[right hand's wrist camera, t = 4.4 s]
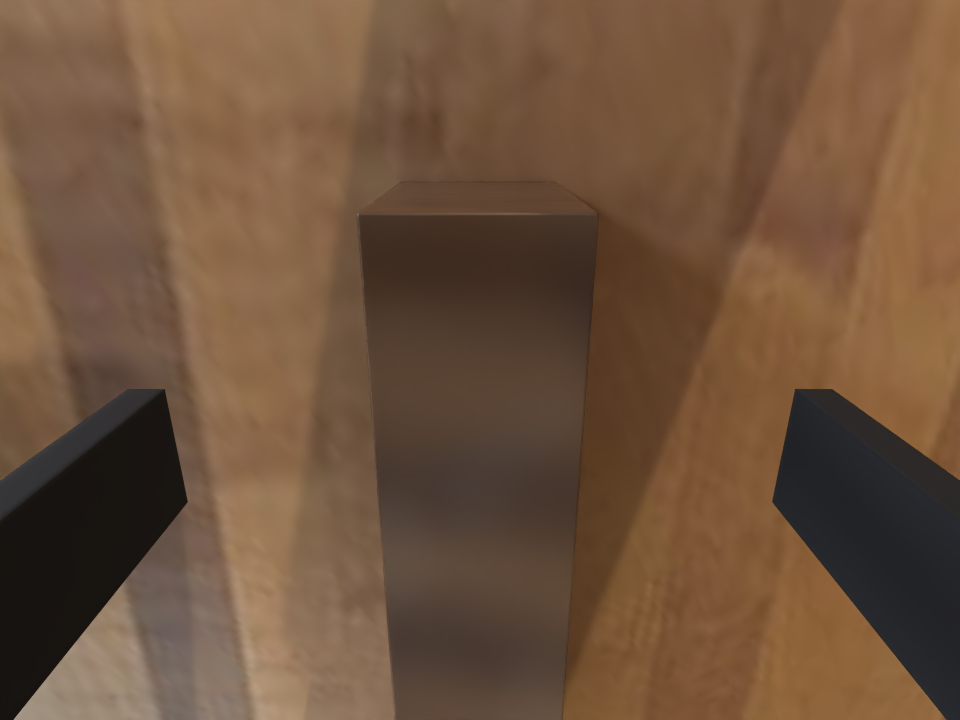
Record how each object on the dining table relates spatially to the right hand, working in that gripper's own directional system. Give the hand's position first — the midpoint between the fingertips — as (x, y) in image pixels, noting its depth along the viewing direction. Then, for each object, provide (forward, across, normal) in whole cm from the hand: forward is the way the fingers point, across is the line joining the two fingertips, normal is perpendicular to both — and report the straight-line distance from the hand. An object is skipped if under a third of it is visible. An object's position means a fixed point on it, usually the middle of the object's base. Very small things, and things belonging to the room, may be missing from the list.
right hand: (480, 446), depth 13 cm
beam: (+10, 0, -27) cm, 29 cm away
